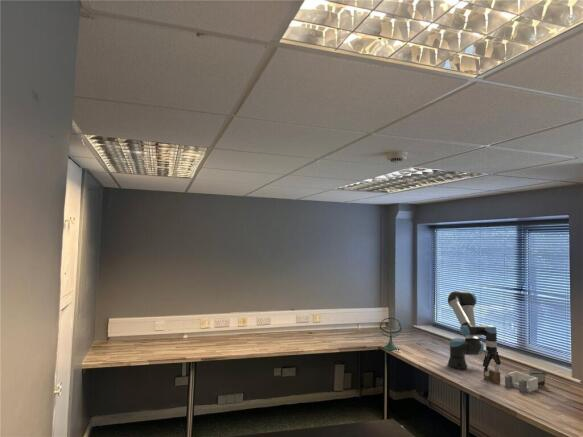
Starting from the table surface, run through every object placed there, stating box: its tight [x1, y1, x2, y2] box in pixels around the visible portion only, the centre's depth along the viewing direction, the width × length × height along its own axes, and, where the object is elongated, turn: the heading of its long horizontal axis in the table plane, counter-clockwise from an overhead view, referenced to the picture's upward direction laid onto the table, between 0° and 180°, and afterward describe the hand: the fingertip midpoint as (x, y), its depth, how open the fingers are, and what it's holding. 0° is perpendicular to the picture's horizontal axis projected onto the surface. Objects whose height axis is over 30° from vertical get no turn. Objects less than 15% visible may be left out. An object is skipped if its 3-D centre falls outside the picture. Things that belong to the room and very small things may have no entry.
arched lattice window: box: [528, 369, 547, 387], centre depth 280 cm, size 12×6×10 cm, turn 92°
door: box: [483, 367, 501, 385], centre depth 286 cm, size 12×2×8 cm, turn 31°
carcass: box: [504, 370, 539, 393], centre depth 273 cm, size 16×17×8 cm
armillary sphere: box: [379, 312, 403, 352], centre depth 367 cm, size 22×26×35 cm
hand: (492, 374), depth 285 cm, fingers open, 13 cm apart
